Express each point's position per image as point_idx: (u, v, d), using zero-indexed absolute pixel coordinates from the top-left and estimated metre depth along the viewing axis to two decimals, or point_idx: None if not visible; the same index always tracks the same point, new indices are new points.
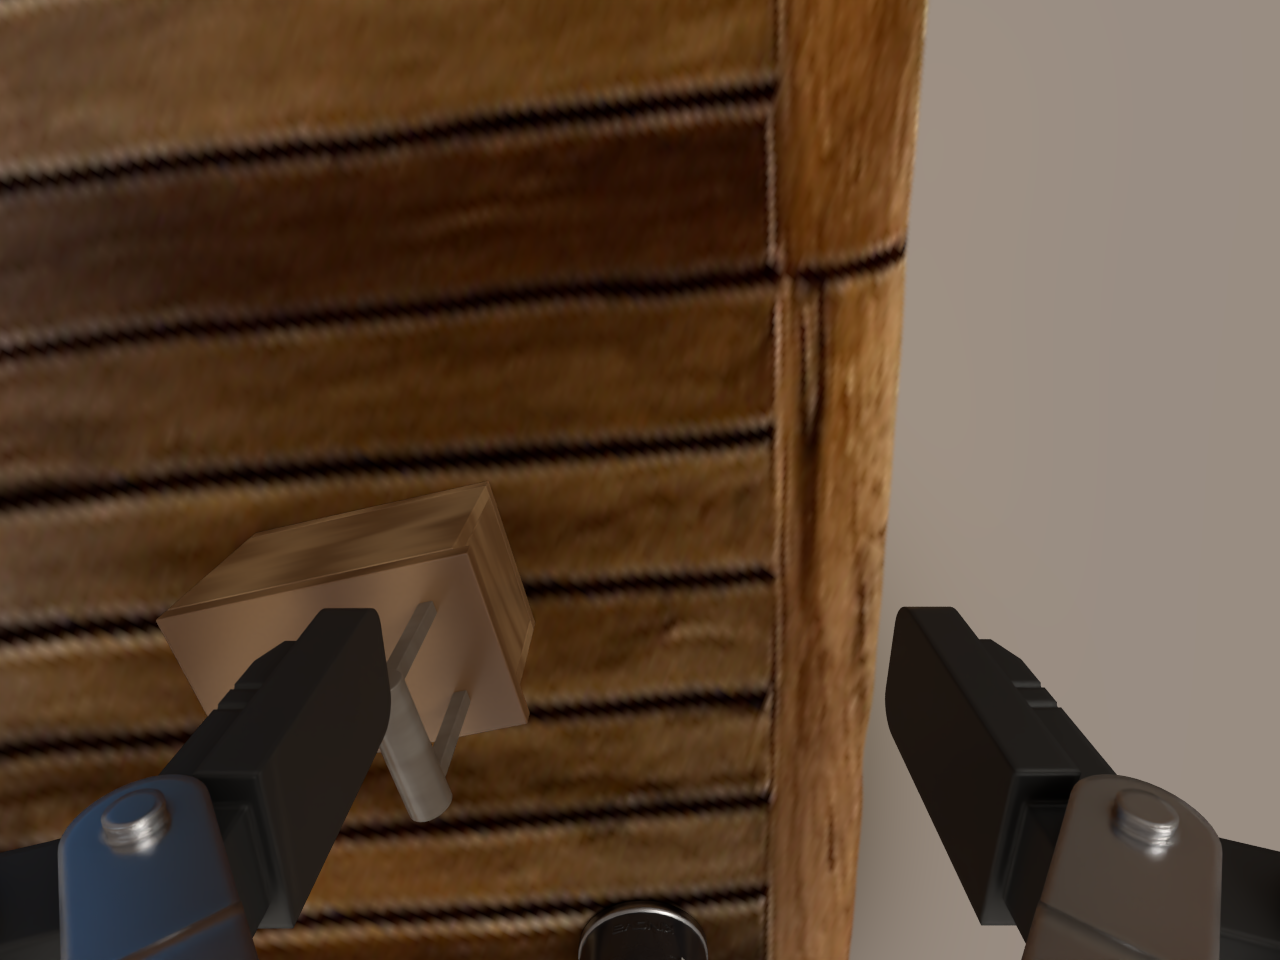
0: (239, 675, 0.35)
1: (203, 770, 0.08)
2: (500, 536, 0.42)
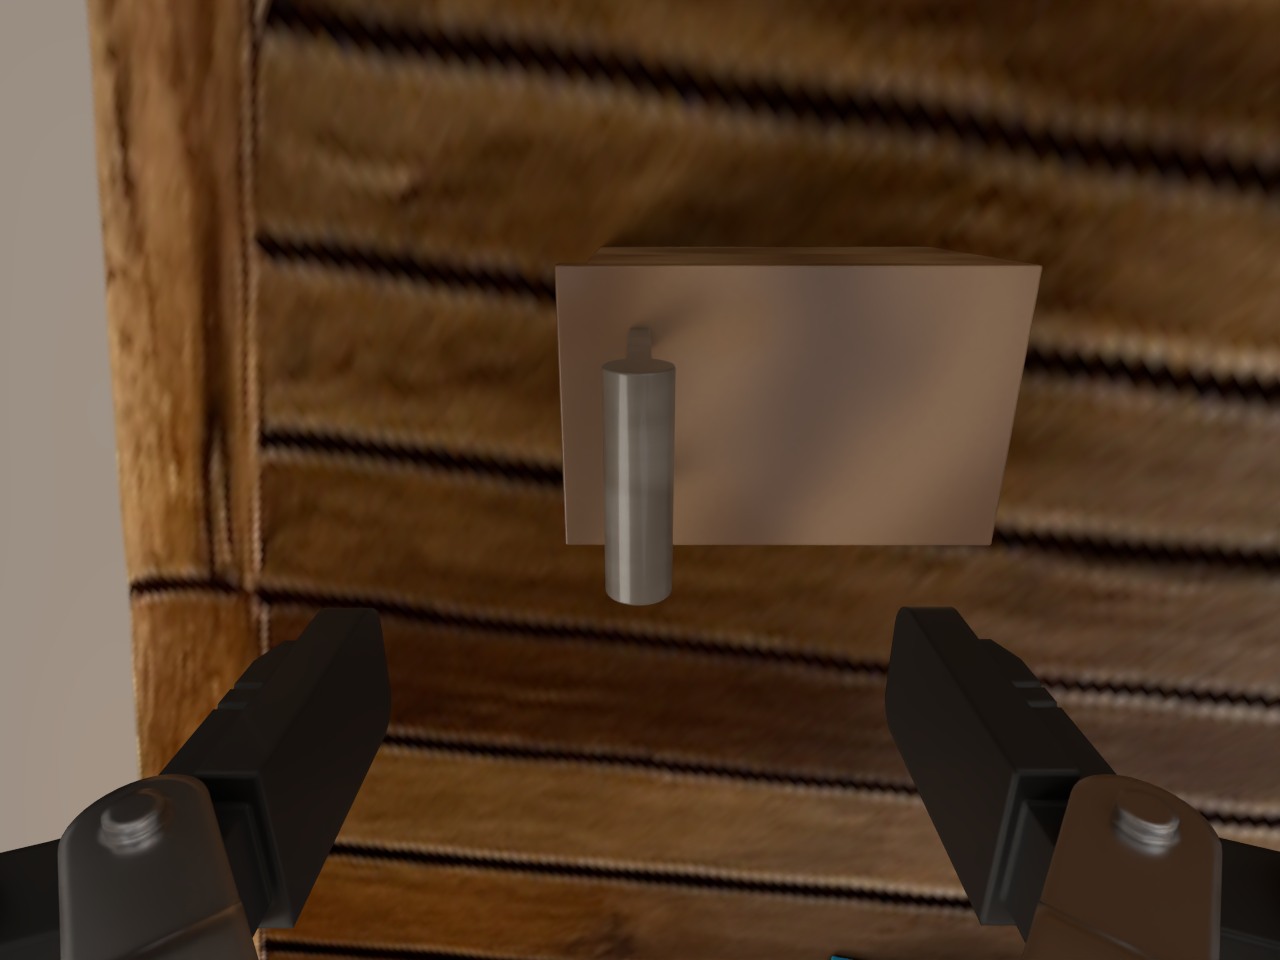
0: (934, 445, 0.25)
1: (203, 770, 0.08)
2: None
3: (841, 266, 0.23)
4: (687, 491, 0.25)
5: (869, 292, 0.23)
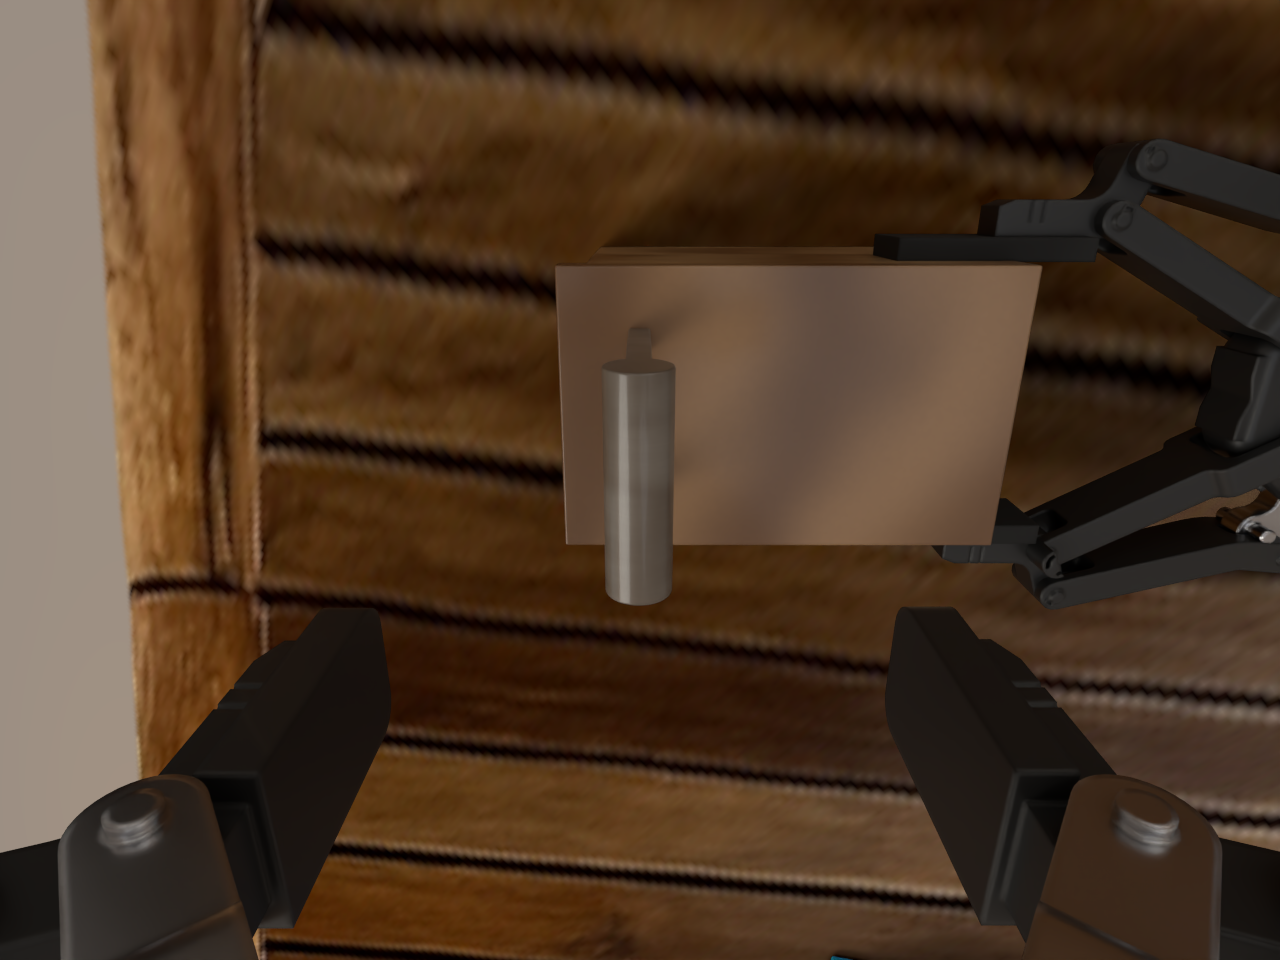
0: (934, 446, 0.25)
1: (203, 770, 0.08)
2: None
3: (841, 266, 0.23)
4: (687, 491, 0.25)
5: (869, 292, 0.23)
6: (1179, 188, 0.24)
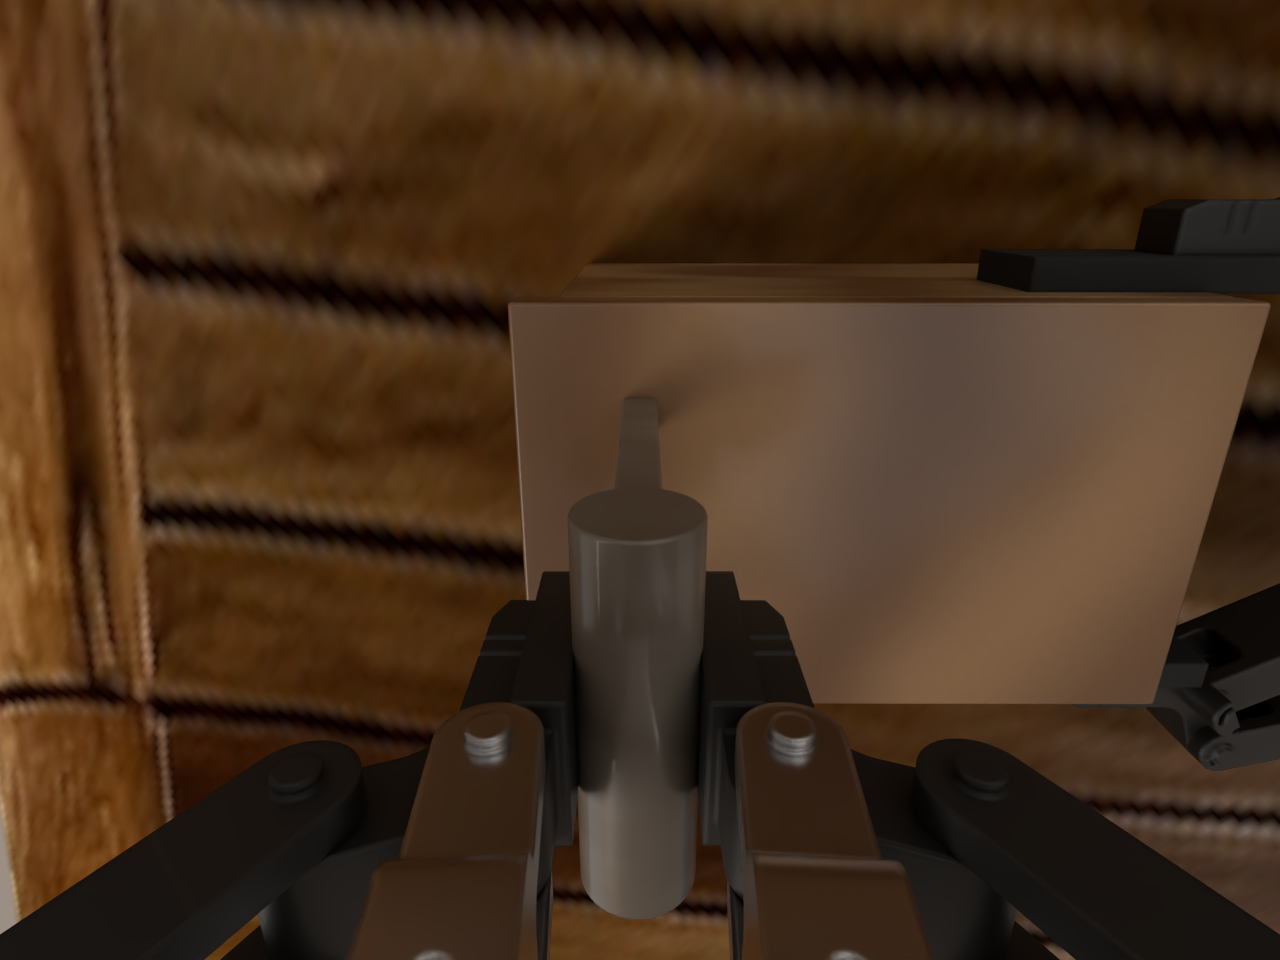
0: (1081, 568, 0.17)
1: (517, 700, 0.09)
2: None
3: (955, 304, 0.15)
4: None
5: (997, 343, 0.15)
6: None
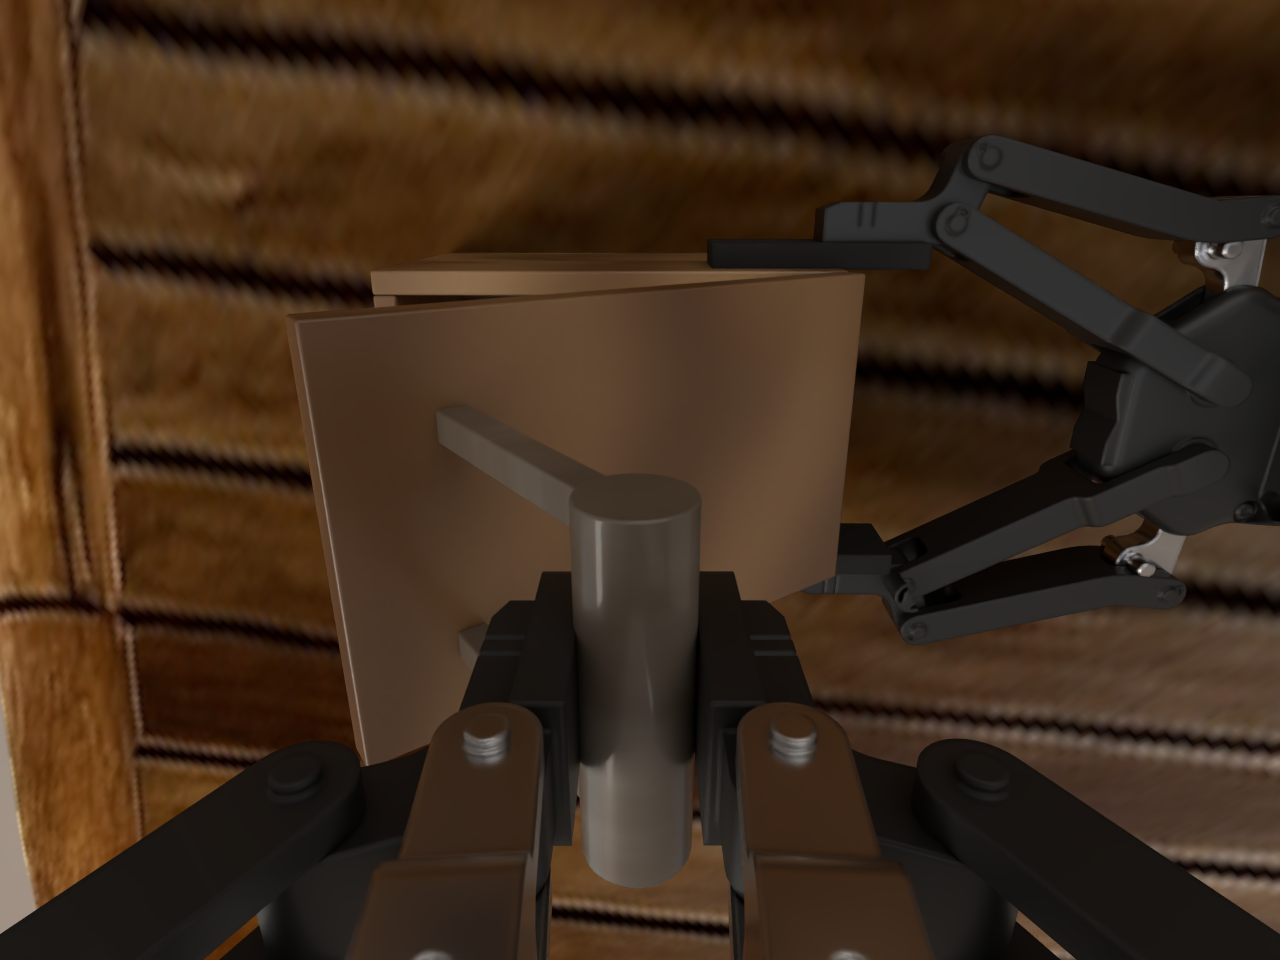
0: (789, 486, 0.21)
1: (516, 700, 0.09)
2: None
3: (694, 288, 0.17)
4: None
5: (724, 318, 0.18)
6: (1017, 189, 0.21)
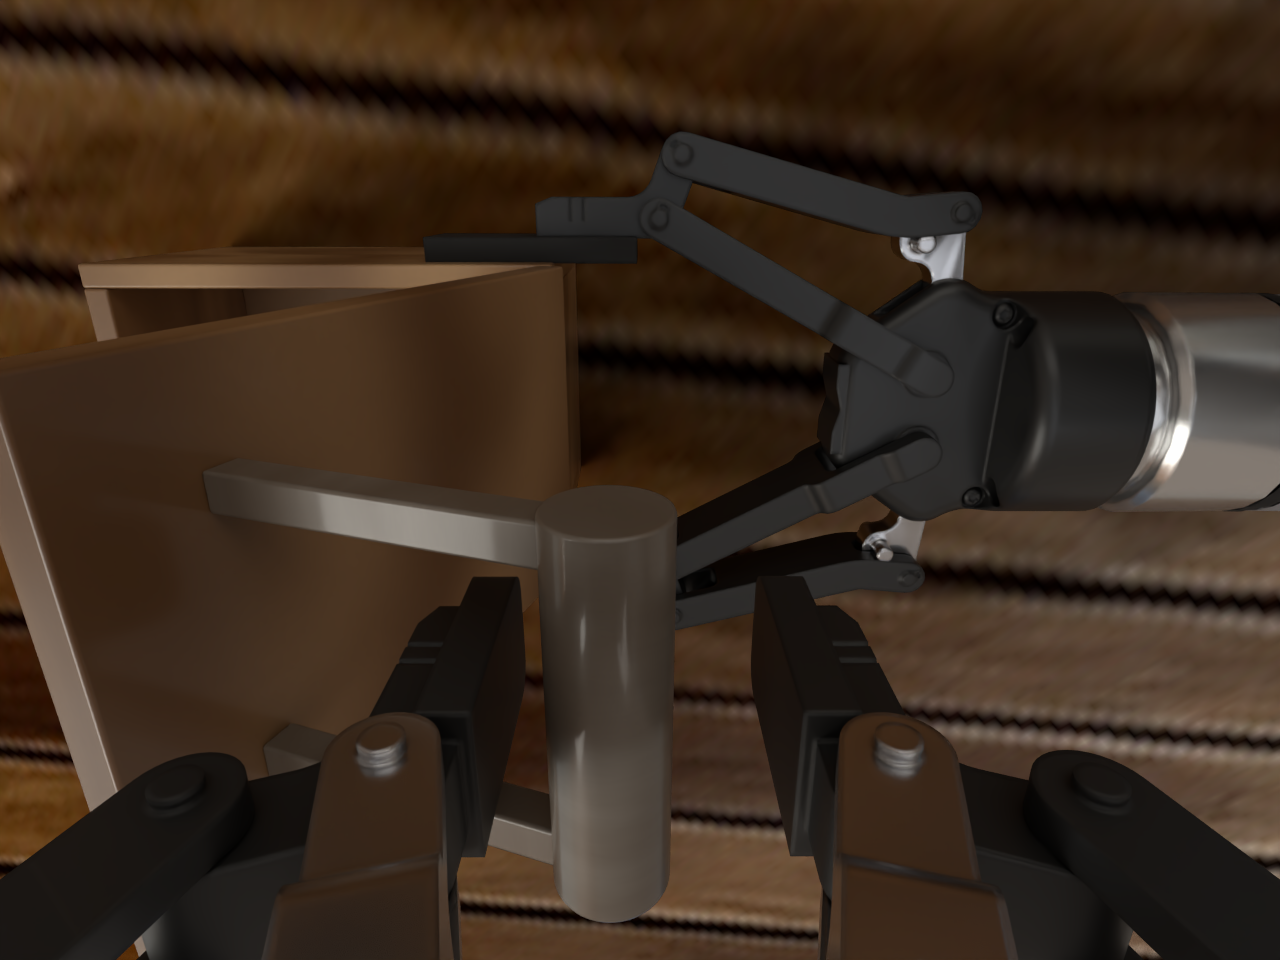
0: (533, 483, 0.21)
1: (420, 710, 0.09)
2: None
3: (439, 290, 0.16)
4: (345, 703, 0.15)
5: (468, 320, 0.17)
6: (713, 185, 0.22)
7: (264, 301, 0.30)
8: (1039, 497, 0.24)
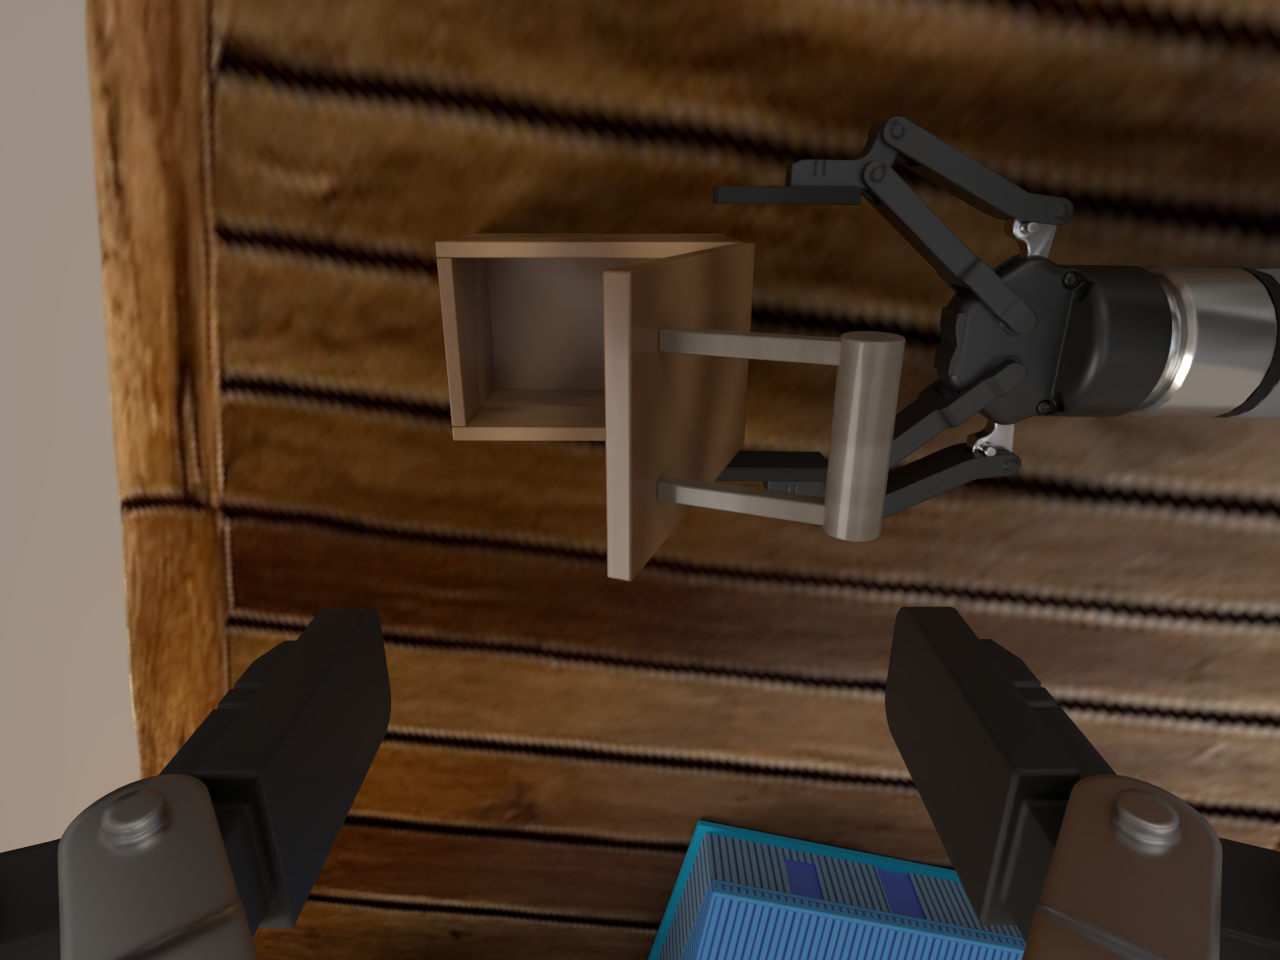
0: (735, 382, 0.33)
1: (203, 770, 0.08)
2: None
3: (716, 252, 0.28)
4: (675, 477, 0.26)
5: (723, 271, 0.29)
6: (910, 156, 0.33)
7: (501, 272, 0.42)
8: (1092, 402, 0.36)
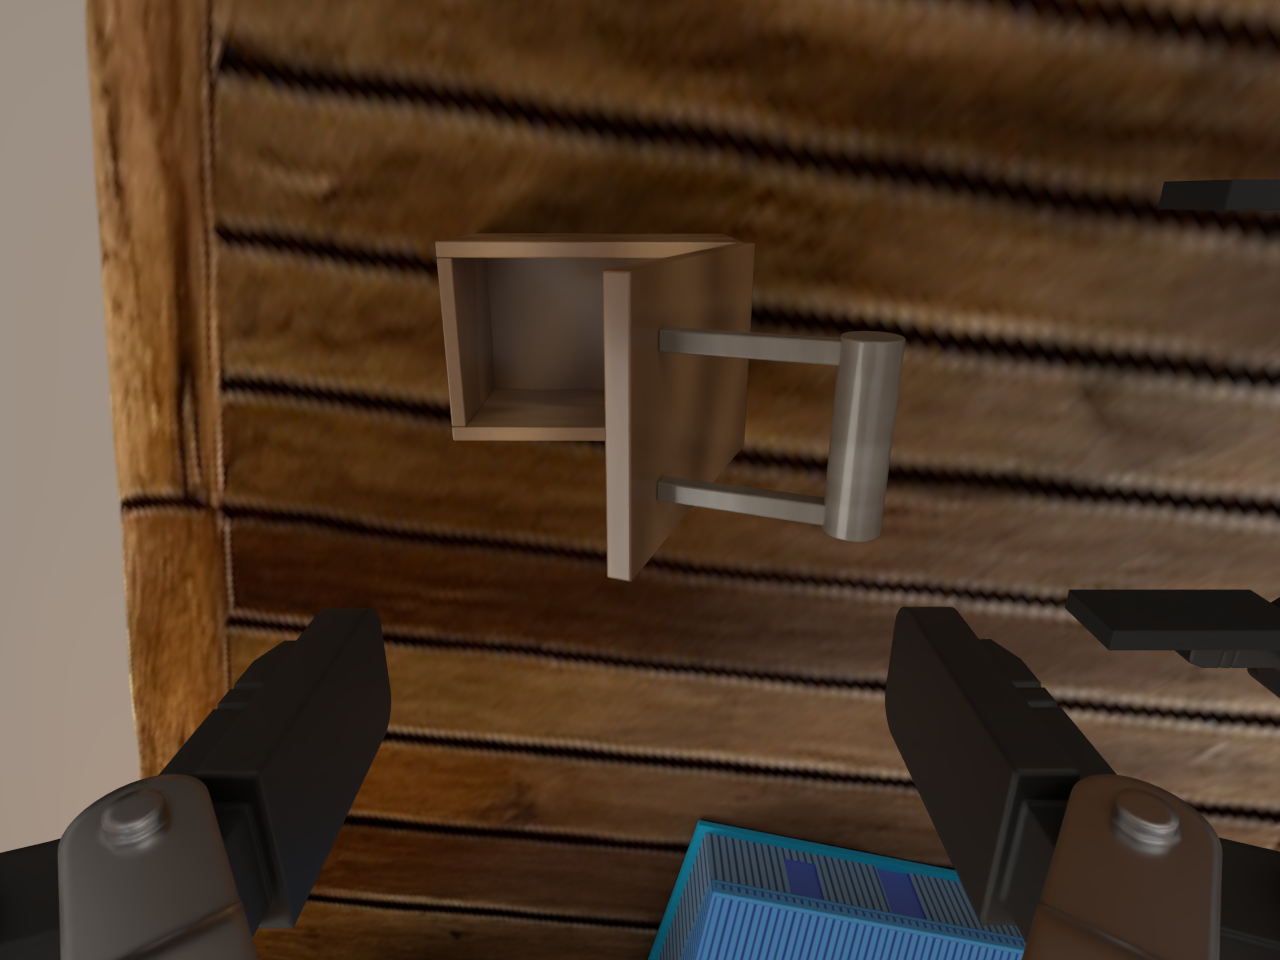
0: (735, 382, 0.33)
1: (203, 770, 0.08)
2: None
3: (716, 252, 0.28)
4: (675, 477, 0.26)
5: (723, 271, 0.29)
6: None
7: (501, 272, 0.42)
8: None
